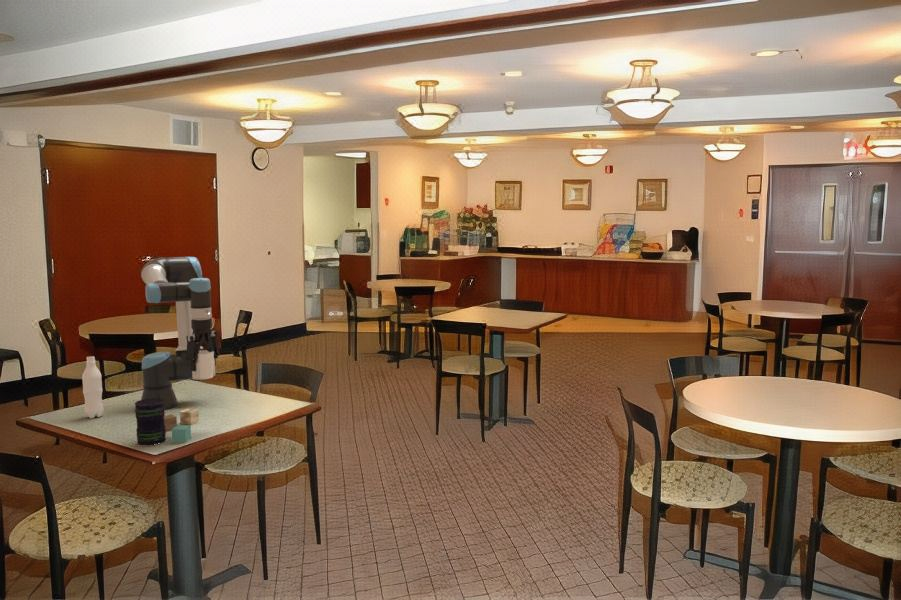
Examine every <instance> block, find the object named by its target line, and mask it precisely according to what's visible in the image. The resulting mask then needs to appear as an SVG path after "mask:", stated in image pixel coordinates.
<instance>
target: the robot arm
mask: <svg viewBox="0 0 901 600" xmlns="http://www.w3.org/2000/svg"><path fill="white" fill-rule="evenodd" d="M140 277H141V279H142V281H143V282H144V283H145V284H146V285H145V288H144V289H145V298H146V299H145V301H146V302H147V303H149V304H160V303H173V302H174V303H175V309H176V324H177V325H176V326H177V336H178V337H177V338H178V339H177V340H178V346H177V348H176V349H175V350H174V351H175V353H174V354H172V353H171V352H170V351H167V350H166V351H164V350H163V351H157V352H156V351H155V352H152V353H149V354H146V355H145V356H144V357H142V360H141V370H142V389H143V390H142V395H141V398H140V400H144V399H152V398H158V399H163V400H164V408H165V410H169V409H173V408H175V407H177V406H178V398H177V397H176V394H175V390H174V389H173V382H177V381H179V382H180V381H188V380H198V381H199V380H200V379H199V363H198V362H197V358H198V354H199V351H202V350H204V347H203V344H204V346H205V348H206V350H207V351H208V352H212V351H214V370H213V376H216V365H217V359H218V357H219V356H220V353H221V352H220V347H219V342H218V331H216V330H212V328H213V319H212V317H213V316H212V315H213V314H212V293H211V291H212V286H211V280H210V279H209V278H208V277H203V271H202V266H201V264H200V261H199V259H198V258H197V257H195V256H174V257H173V256H170V257H168V256H167V257H157V258H154V259H151V260H149V261H148V262H147V263H145V264H144V265H143V267H142V269H141V271H140Z"/></svg>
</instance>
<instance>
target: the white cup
mask: <svg viewBox="0 0 901 600" xmlns="http://www.w3.org/2000/svg"><path fill="white" fill-rule="evenodd" d="M197 362H198V363H199V379H198V380H209V379H212V378H214V375H213V370H214V351H212V352H208V351H207V349H206V350H205V349H203V350H202V351H199V354H198V358H197Z"/></svg>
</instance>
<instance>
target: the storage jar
mask: <svg viewBox="0 0 901 600" xmlns="http://www.w3.org/2000/svg"><path fill="white" fill-rule="evenodd" d="M134 406H135V410H134V413H135V419H136V430H135V431H136V440H137V441H136V442H137V443H138V444H139V445H138V444H137V445H138V446H141V445H152V446H155V445H154V444H158V443H161V444H163V443H165V442H166V441H165V440H167V439H166V434H167V431H166V430H165V425H164V415H166V413H165V410H166V409H165V408H164V400H163V399H158V398H152V399H144V400H141V399H140V400H137V401H136V402H134ZM164 441H165V442H164ZM162 442H163V443H162ZM158 445H159V444H158Z"/></svg>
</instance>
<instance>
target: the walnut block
mask: <svg viewBox="0 0 901 600" xmlns="http://www.w3.org/2000/svg"><path fill="white" fill-rule="evenodd" d="M164 425H165V430H166V432H169V431H168V430H170V431H172V429H173V428H174V427H176V426H177V425H178V416H176V415H174V414H165V415H164Z"/></svg>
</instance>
